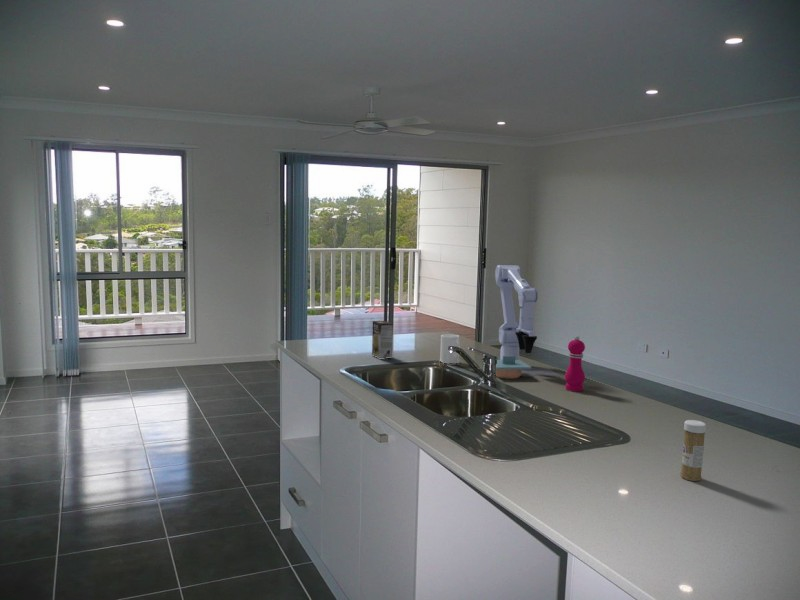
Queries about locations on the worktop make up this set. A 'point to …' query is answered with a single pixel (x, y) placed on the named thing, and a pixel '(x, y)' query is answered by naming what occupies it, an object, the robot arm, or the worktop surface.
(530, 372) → the mat
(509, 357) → the cover sheet
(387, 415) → the worktop surface
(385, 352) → the coffee box
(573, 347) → the pepper mill
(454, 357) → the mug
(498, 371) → the bowl
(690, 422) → the sprinkles bottle
